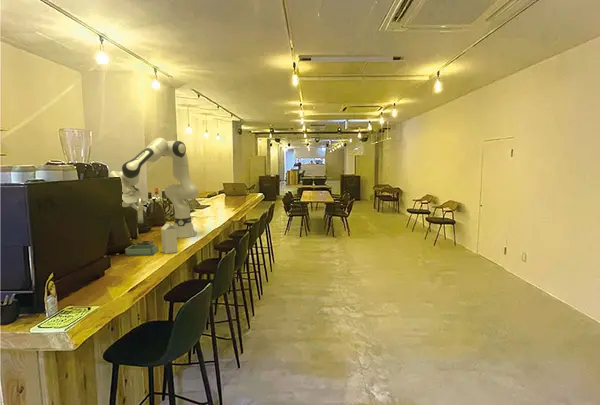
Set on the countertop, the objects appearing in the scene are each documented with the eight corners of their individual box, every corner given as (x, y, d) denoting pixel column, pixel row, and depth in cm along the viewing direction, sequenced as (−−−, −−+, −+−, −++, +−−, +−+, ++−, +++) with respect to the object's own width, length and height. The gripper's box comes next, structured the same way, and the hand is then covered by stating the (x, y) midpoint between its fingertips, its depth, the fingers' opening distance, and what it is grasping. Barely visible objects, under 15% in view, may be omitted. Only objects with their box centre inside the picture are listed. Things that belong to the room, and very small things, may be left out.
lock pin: (139, 222, 228) (138, 198, 227) (144, 222, 228) (143, 198, 227) (137, 223, 225) (136, 198, 224) (142, 223, 225) (141, 198, 224)
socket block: (142, 248, 240) (141, 240, 240) (153, 248, 241) (152, 240, 240) (138, 251, 233) (137, 243, 233) (149, 250, 234) (149, 243, 233)
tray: (132, 251, 233) (131, 245, 232) (158, 250, 234) (157, 244, 233) (125, 255, 222) (124, 249, 221) (152, 255, 223) (152, 249, 222)
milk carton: (166, 254, 226) (164, 223, 224) (162, 251, 232) (160, 222, 229) (177, 252, 231) (176, 222, 228) (173, 250, 236) (172, 220, 234)
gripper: (117, 190, 216) (132, 207, 215) (140, 188, 236) (154, 204, 235) (111, 198, 218) (126, 215, 216) (134, 195, 237) (148, 210, 236)
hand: (141, 209), depth 226 cm, fingers closed on lock pin, 3 cm apart
